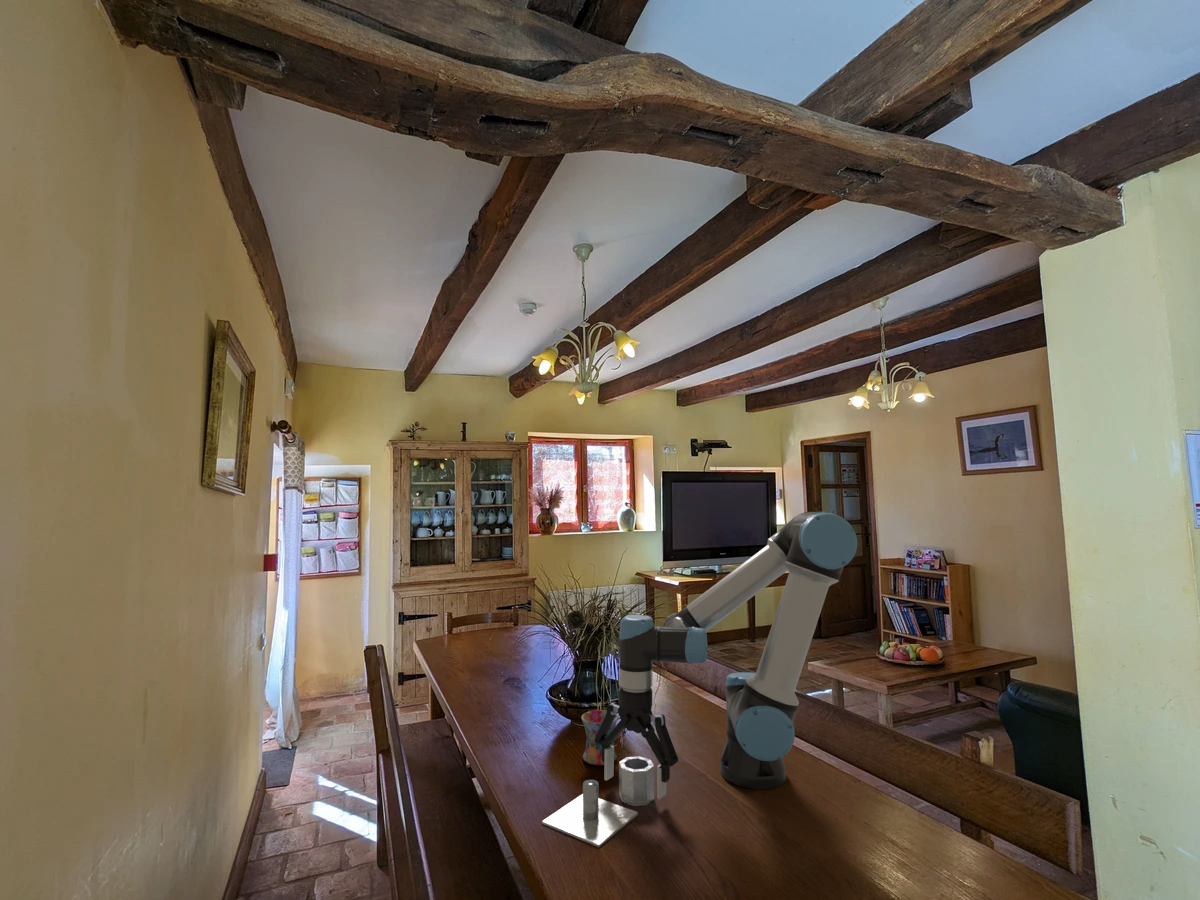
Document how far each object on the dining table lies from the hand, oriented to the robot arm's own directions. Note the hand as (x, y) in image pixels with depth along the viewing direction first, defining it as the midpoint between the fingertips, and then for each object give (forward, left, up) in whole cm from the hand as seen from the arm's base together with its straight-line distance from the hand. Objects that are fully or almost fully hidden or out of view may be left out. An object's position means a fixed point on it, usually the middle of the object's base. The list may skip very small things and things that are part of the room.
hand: (634, 786), depth 128 cm
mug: (+16, -12, -2) cm, 20 cm away
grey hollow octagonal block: (0, 0, -2) cm, 2 cm away
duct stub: (+3, +13, -2) cm, 13 cm away
